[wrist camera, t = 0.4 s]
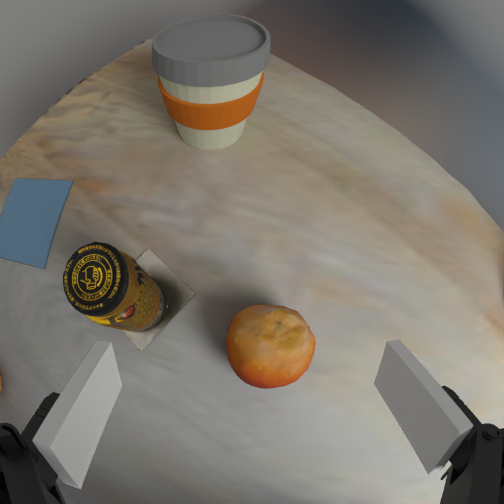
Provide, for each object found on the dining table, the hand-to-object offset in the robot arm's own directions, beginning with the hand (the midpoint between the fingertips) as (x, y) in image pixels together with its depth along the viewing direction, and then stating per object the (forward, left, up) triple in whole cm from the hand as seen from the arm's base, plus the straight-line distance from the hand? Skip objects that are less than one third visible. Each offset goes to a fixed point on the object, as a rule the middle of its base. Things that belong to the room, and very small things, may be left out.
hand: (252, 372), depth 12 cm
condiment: (+5, +10, -17) cm, 20 cm away
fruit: (+2, -3, -17) cm, 17 cm away
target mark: (+12, +30, -17) cm, 36 cm away
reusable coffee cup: (+29, +7, -17) cm, 34 cm away
